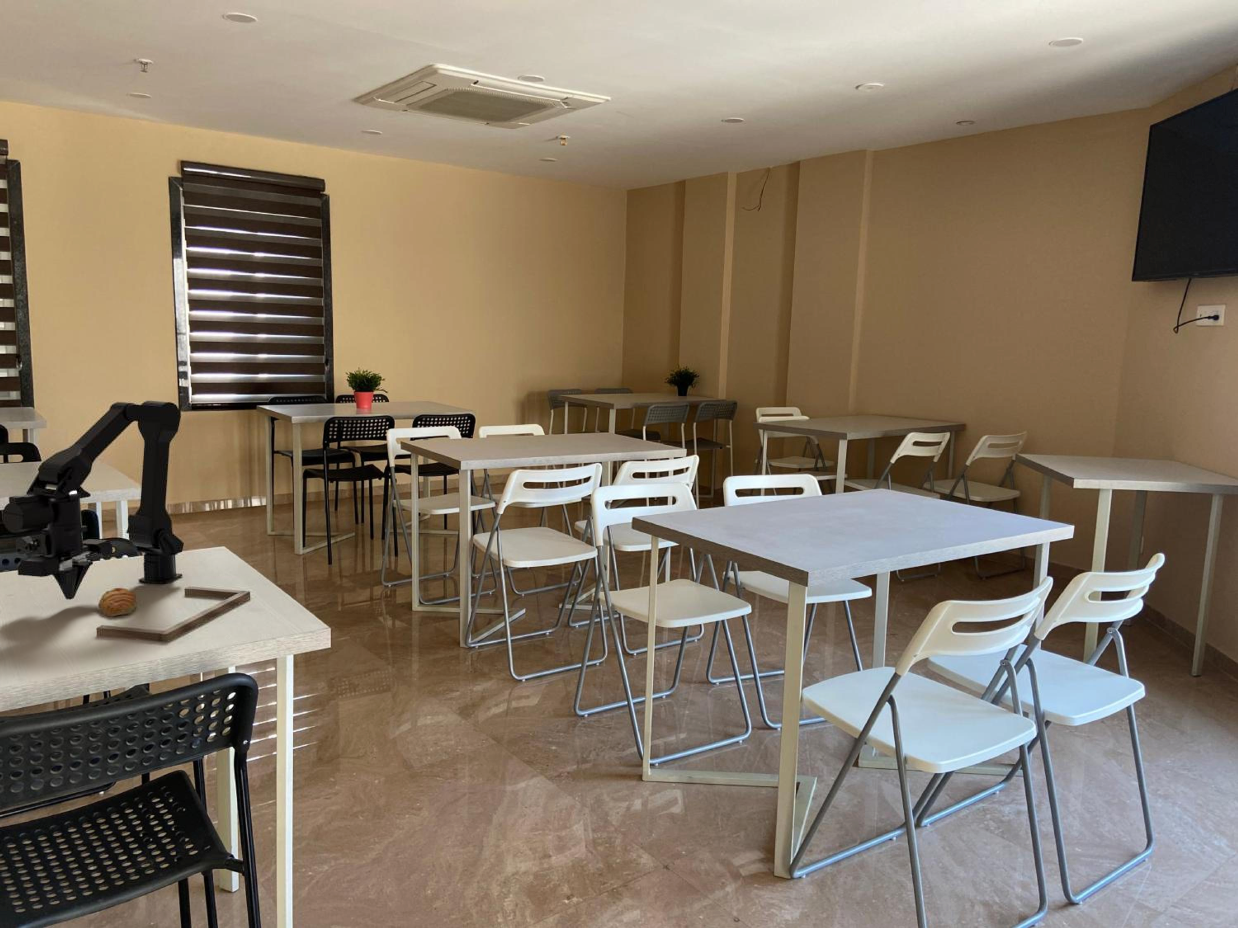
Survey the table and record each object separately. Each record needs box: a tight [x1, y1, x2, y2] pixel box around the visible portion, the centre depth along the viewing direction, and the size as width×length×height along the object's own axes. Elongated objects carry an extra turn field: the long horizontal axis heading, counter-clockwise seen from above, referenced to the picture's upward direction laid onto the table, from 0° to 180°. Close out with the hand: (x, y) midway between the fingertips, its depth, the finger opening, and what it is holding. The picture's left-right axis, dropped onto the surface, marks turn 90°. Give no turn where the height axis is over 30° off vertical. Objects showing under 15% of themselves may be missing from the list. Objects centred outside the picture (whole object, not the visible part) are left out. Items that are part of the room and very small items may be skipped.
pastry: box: [97, 587, 139, 618], centre depth 178 cm, size 9×7×4 cm
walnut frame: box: [96, 585, 251, 643], centre depth 176 cm, size 27×14×2 cm, turn 171°
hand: (69, 598), depth 179 cm, fingers closed
